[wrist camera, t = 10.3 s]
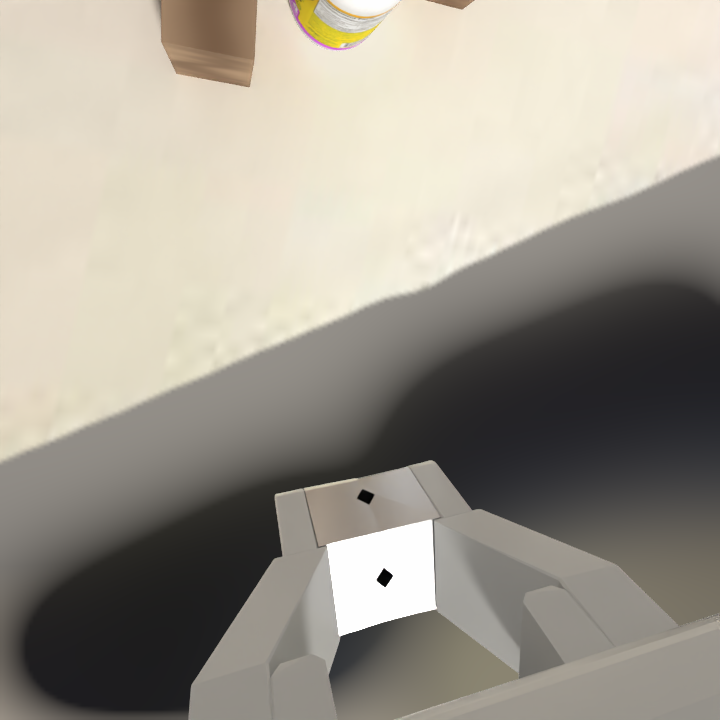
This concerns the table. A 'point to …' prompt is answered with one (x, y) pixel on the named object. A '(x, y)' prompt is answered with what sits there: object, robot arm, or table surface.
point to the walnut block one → (210, 38)
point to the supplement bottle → (339, 20)
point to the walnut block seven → (454, 3)
